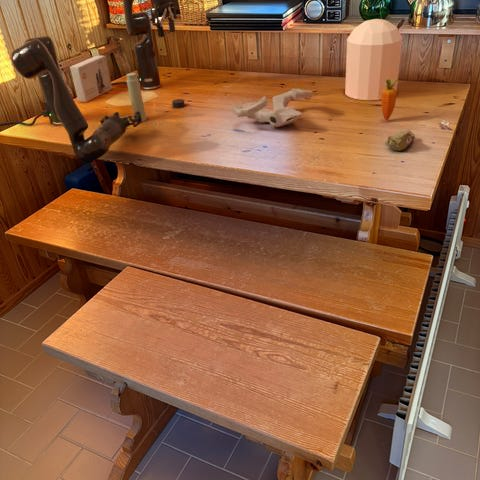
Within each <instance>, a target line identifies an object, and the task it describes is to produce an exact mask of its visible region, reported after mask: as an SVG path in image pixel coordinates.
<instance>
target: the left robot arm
mask: <svg viewBox="0 0 480 480" xmlns="http://www.w3.org/2000/svg"><path fill="white" fill-rule="evenodd" d="M10 59H11V62H12V65H13V67H14V69H15V70H16V72H17V73H18V74H19V75H20V76H22V77H23V78H25V79H27V80H33V79H35V78H37V79H38V82H39V85H40V88H41V91H42V94H43V98H44V100H43V104H44V105H43V106H44V107H45V109H43V110H42V111H41V113H39V114H37V115H35V116H34V118H33V120H32V122H30V123H26V122H23V121H18V120H17V121H8V122H2V123H0V127H4V126H8V125H23V126H27V127H31V126H33V125H35V124H36V121H37V120H38V119H39V118H40V117H43V118H48V119H49V123H50V125H54V126H62V127H63V128H64V130H65V131H66V133H67V135H68V138H69V141H70V144H71V147H72V151H73V153H74V155H75V157H76V158H77V159H78V160H79V162H81V163H83V164H86V165H88V164H92V163H93V162H95V161H96V160H99V158H102V157H103V156H104V155H106V154H107V153H108V152H109V150H110V148H111V146H112V145H113V144H115V143H116V142H117V141H119V139H120V138H121V137H123V135H124V134H125V133H126V130H127V128H128V127H130V126H132V127H133V128H136V127H138V126H139V125H140V124H141V123H143V122H142V119H141V115H140V113H139V111H137V112H136V113H135V114H134V113H133V114H132V115H131V114H128V115H125V116H120V113H119V111H116V112H114V113H113V114H110V115H104V116H103V117H102V118H101V119H100V120H99V121H100V125H99V126H98V127H97V128H96V129H95V130H94V131H93V132H92V133H91V135H90V136H88V137H87V138H85V133H86V132H87V130H88V129H89V123H88V121H87V119H86V118H85V116H84V115H83V113H82V112H81V110H80V108H79V107H78V105H77V103H76V102H75V100H74V98H73V96H72V94H71V92H70V90H69V88H68V86H67V84H66V82H65V78H64V77H63V73H62V70H61V66H60V63H59V59H58V55H57V50H56V47H55V43H54V41H53V39H52V38H51V37H50V36H49V35H44V36H37V37H30V38H27V39H25V40H24V44H22V45H20V46H19V47H18V48H16V49H13V51H12V52H11V54H10Z"/></svg>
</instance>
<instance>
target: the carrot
mask: <svg viewBox="0 0 480 480" xmlns="http://www.w3.org/2000/svg"><path fill="white" fill-rule="evenodd" d="M396 81H397V79H395V80H394V82H393V84H391V82H390V79H386V83H387V85H386V87H387V88H386V89H384V90H383V91H382V98H381V99H380V101H381V102H380V104H381V112H382V113H381V114H382V117H383V119H384V120H385V121H386V122H388V121H389V119H390V118H391V117H392V114H393V112H394V109H395V106H396V101H397V96H398V95H397V94H398V90H397V91H396V90H395V89H394V88H393V86H394V84H395V83H396ZM389 85H390V86H389ZM391 85H392V86H391Z"/></svg>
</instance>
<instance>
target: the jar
mask: <svg viewBox="0 0 480 480" xmlns="http://www.w3.org/2000/svg"><path fill="white" fill-rule="evenodd" d="M125 77H126V80H125V82H127V84H126V85H127V91H128V95H129V99H130V103H131V108H132V114H133V115H134V114H135V113H136V112H137V111H139V113H140V115H141V119H142V122H141V123H143V122H146V121H147V120H148V119H147V115H146V110H145V109H146V108H145V105H144V100H143V95H142V91H141V87H140V82H139V80H138V78H137V77H138V75H137V72H128V73H126V76H125Z"/></svg>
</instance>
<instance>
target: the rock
mask: <svg viewBox="0 0 480 480" xmlns="http://www.w3.org/2000/svg"><path fill="white" fill-rule="evenodd" d="M415 139H416V135H415V134H414V132H412V131H411V130H408V129H407V130H404V131H398V132H396V133H394V134H393V135H392V134H391V135H389V136H388V137H387V143H388V145H387V146H388V147H389V149H391V150H392V151H395V152H404V151H406V150H407V148H409V145H410V144H411V143H412V142H413V141H414V140H415Z"/></svg>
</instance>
